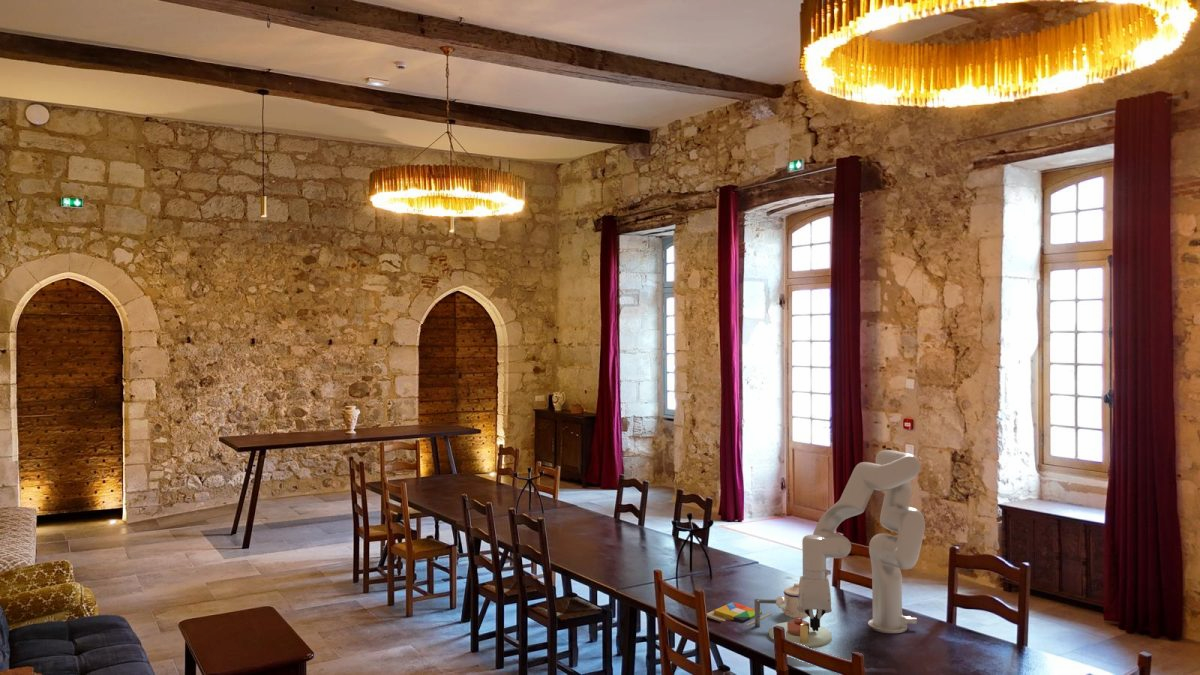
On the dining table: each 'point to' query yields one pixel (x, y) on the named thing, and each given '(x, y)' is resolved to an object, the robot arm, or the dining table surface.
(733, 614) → the wooden puzzle
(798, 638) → the turntable
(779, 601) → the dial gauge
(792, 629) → the cover
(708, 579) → the dining table surface
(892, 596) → the robot arm
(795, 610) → the teacup with lid
